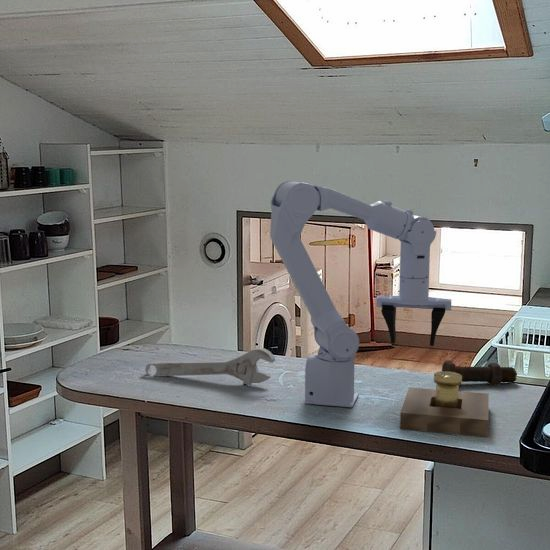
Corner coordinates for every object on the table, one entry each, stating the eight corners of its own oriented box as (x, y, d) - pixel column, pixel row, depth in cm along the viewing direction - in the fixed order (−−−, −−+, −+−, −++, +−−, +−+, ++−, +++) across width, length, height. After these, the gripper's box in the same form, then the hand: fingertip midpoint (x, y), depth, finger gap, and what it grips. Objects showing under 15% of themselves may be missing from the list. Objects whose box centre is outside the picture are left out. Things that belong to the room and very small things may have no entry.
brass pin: (431, 420, 144) (433, 378, 143) (432, 411, 149) (434, 370, 147) (459, 423, 143) (462, 380, 142) (459, 413, 148) (461, 372, 146)
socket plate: (400, 428, 140) (400, 412, 140) (408, 402, 154) (408, 387, 154) (487, 436, 136) (488, 420, 136) (487, 408, 150) (488, 393, 150)
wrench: (151, 386, 175) (278, 384, 164) (147, 388, 173) (275, 387, 162) (146, 350, 174) (273, 346, 163) (142, 353, 172) (270, 349, 161)
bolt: (514, 393, 166) (444, 392, 165) (508, 375, 170) (439, 374, 169) (522, 373, 162) (450, 373, 161) (515, 356, 166) (445, 355, 165)
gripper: (452, 274, 157) (450, 340, 160) (380, 271, 161) (379, 336, 163) (451, 280, 151) (448, 349, 153) (375, 277, 155) (374, 344, 157)
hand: (412, 343), depth 158 cm, fingers open, 7 cm apart
